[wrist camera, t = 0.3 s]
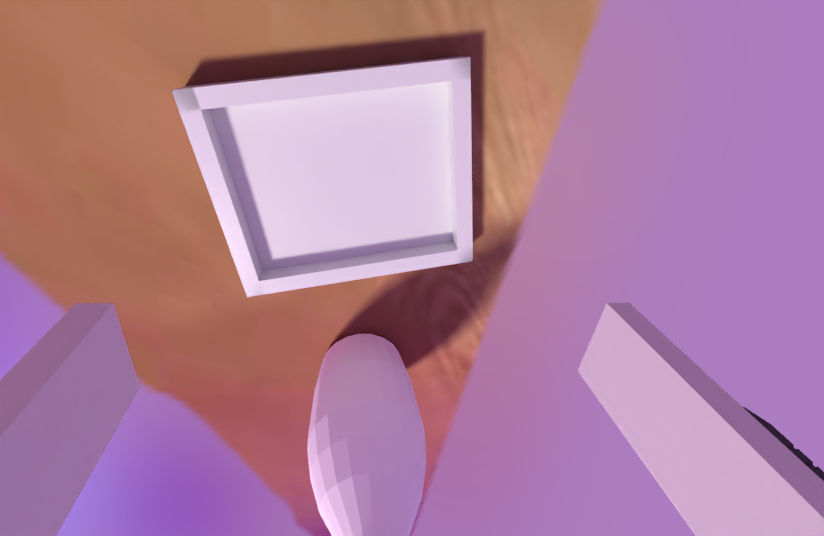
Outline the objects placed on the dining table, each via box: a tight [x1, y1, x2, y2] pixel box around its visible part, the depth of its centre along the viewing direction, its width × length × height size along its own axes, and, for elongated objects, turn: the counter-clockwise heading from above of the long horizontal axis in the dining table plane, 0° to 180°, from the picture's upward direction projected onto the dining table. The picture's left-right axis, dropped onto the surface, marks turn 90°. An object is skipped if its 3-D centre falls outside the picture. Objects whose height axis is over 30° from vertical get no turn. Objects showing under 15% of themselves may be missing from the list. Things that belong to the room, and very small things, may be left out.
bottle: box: [308, 334, 426, 536], centre depth 36 cm, size 11×11×25 cm
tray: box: [172, 56, 473, 297], centre depth 35 cm, size 18×22×3 cm
